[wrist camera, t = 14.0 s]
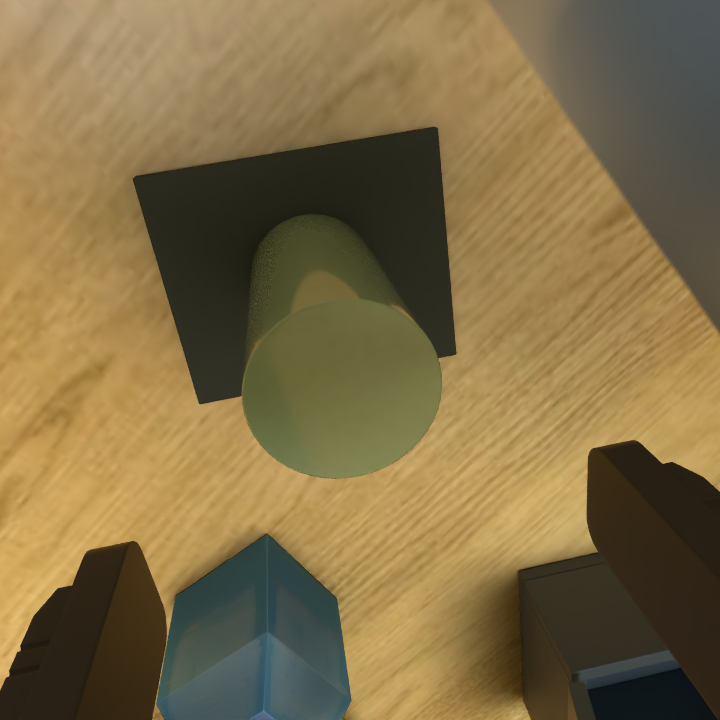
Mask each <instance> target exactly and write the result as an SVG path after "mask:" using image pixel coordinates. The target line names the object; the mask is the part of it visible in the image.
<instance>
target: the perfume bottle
mask: <svg viewBox="0 0 720 720" xmlns="http://www.w3.org/2000/svg"><path fill="white" fill-rule="evenodd" d="M350 702H351V694H350V687H349V680H348V673H347V666H346V658H345V651H344V644H343V637H342V630H341V623H340V616H339V609H338V602H337V599H336V598H335V597H334V596H333V595H332V594H331V593H330V592H329V591H328V590H327V589H326V588H325V587H323V586H322V585H321V584H320V583H319V582H318V581H317V580H316V579H315V578H314V577H313V576H312V575H311V574H310V573H308V572H307V571H306V570H305V569H304V568H303V567H302V566H301V565H300V564H299V563H298V562H297V561H296V560H295V559H293V558H292V557H291V556H290V555H289V554H288V553H287V552H286V551H285V550H284V549H283V548H282V547H281V546H280V545H278V544H277V543H276V542H275V541H274V540H273V539H272V538H271V537H270V536H269V535H268V534H266V535H265V536H263V537H262V538H260V539H259V540H257V541H256V542H254V543H253V544H252V545H250V546H249V547H247V548H246V549H244V550H243V551H241V552H240V553H238V554H237V555H235V556H234V557H232V558H231V559H229V560H228V561H227V562H225V563H224V564H222V565H221V566H219V567H218V568H216V569H215V570H213V571H212V572H210V573H209V574H207V575H206V576H204V577H203V578H202V579H200V580H199V581H197V582H196V583H194V584H193V585H191V586H190V587H188V588H187V589H185V590H184V591H182V592H181V593H179V594H178V595H177V596H175V601H174V607H173V613H172V618H171V624H170V630H169V635H168V641H167V647H166V652H165V658H164V664H163V669H162V675H161V681H160V686H159V692H158V698H157V703H156V704H157V706H158V708H159V709H160V711H161V713H162V715H163V717H164V719H165V720H342V718H343V716H344V714H345V712H346V710H347V708H348V706H349V704H350Z"/></svg>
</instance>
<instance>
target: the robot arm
mask: <svg viewBox="0 0 720 720" xmlns="http://www.w3.org/2000/svg"><path fill="white" fill-rule="evenodd" d="M587 524H588V528H589V532H590V535H591V538H592V541H593V543H594V545H595V547H596V549H597V551H598V552H599V554H600V555H601V556H602V558H603V559H604V561H605V562H606V563H607V565H608V566H609V568H610V569H611V570H612V572H613V573H614V575H615V576H616V577H617V579H618V580H619V582H620V583H621V584H622V586H623V587H624V589H625V590H626V591H627V593H628V594H629V596H630V597H631V598H632V600H633V601H634V603H635V604H636V605H637V607H638V608H639V610H640V611H641V612H642V614H643V615H644V617H645V618H646V619H647V621H648V622H649V624H650V625H651V626H652V628H653V629H654V631H655V632H656V633H657V635H658V636H659V638H660V639H661V640H662V642H663V643H664V645H665V646H666V647H667V649H668V650H669V652H670V653H671V654H672V656H673V657H674V659H675V660H676V661H677V663H678V664H679V666H680V667H681V668H682V670H683V671H684V673H685V674H686V675H687V677H688V678H689V680H690V681H691V682H692V684H693V685H694V687H695V688H696V689H697V691H698V692H699V694H700V695H701V696H702V698H703V699H704V701H705V702H706V703H707V705H708V706H709V708H710V709H711V710H712V712H713V713H714V715H715V716H716V717H717V719H718V720H720V492H719V491H718V490H717V489H716V488H715V487H714V486H713V485H711V484H710V483H709V482H708V481H707V480H706V479H705V478H704V477H702V476H700V475H698V474H696V473H694V472H692V471H690V470H688V469H686V468H684V467H682V466H680V465H677V464H675V463H673V462H670V463H665V464H662V463H661V462H660V461H659V460H658V459H657V458H656V457H654V456H653V455H652V454H651V453H650V452H649V451H648V450H647V449H646V448H645V447H644V446H643V445H642V444H641V443H639V442H638V441H635V440H631V441H626V442H621V443H616V444H611V445H606V446H602V447H597V448H593V449H591V451H590V452H589V456H588V479H587ZM166 639H167V625H166V616H165V611H164V607H163V604H162V601H161V599H160V596H159V593H158V591H157V588H156V586H155V583H154V581H153V578H152V575H151V573H150V570H149V568H148V565H147V563H146V560H145V557H144V555H143V552H142V550H141V548H140V546H139V544H138V543H137V542H135V541H131V542H126V543H121V544H116V545H112V546H107V547H102V548H97V549H92V550H89V551H87V552H86V554H85V555H84V557H83V560H82V562H81V565H80V567H79V570H78V572H77V575H76V577H75V580H74V582H73V585H72V586H67V587H62V588H58V589H57V590H56V591H55V592H54V593H53V594H52V596H51V597H50V598H49V599H48V600H47V601H46V603H45V604H44V605H43V606H42V607H41V608H40V609H39V611H38V612H37V613H36V614H35V615H34V616H33V619H32V621H31V623H30V625H29V628H28V630H27V632H26V634H25V637H24V639H23V641H22V643H21V645H20V647H21V651H20V652H17V654H16V657H15V659H14V661H13V663H12V666H11V668H10V670H9V672H10V675H9V677H7V678H6V679H5V681H4V683H3V686H2V688H1V690H0V720H152V716H153V711H154V706H155V700H156V695H157V690H158V684H159V679H160V673H161V668H162V663H163V657H164V652H165V647H166Z"/></svg>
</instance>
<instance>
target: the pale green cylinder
mask: <svg viewBox="0 0 720 720" xmlns="http://www.w3.org/2000/svg"><path fill="white" fill-rule="evenodd" d="M441 392H442V373H441V367H440V362H439V359H438V356H437V353H436V351H435V349H434V347H433V345H432V343H431V341H430V340H429V338H428V337H427V335H426V334H425V332H424V331H423V329H422V328H421V326H420V324H419V323H418V321H417V320H416V318H415V317H414V315H413V314H412V312H411V311H410V309H409V308H408V306H407V305H406V303H405V302H404V300H403V299H402V297H401V296H400V294H399V293H398V291H397V290H396V288H395V287H394V285H393V284H392V282H391V281H390V279H389V278H388V276H387V275H386V273H385V271H384V270H383V268H382V267H381V265H380V264H379V262H378V261H377V259H376V258H375V256H374V255H373V253H372V252H371V250H370V249H369V247H368V246H367V244H366V243H365V241H364V240H363V238H362V237H361V236H360V235H359V234H358V233H357V232H356V231H355V230H354V229H353V228H352V227H351V226H349V225H348V224H346V223H345V222H343V221H341V220H339V219H336V218H334V217H330V216H327V215H320V214H307V215H300V216H296V217H293V218H290V219H288V220H285V221H284V222H282V223H280V224H278V225H277V226H276V227H274V228H273V229H272V230H271V231H270V232H269V233H268V234H267V235H266V236H265V237H264V238H263V240H262V241H261V242H260V244H259V246H258V248H257V250H256V252H255V255H254V258H253V262H252V267H251V278H250V291H249V304H248V317H247V329H246V342H245V355H244V368H243V381H242V404H243V410H244V414H245V417H246V420H247V423H248V426H249V428H250V430H251V432H252V433H253V435H254V437H255V438H256V440H257V441H258V442H259V444H260V445H261V446H262V447H263V448H264V449H265V450H266V451H267V452H268V453H269V454H270V455H271V456H272V457H274V458H275V459H276V460H277V461H279V462H280V463H282V464H284V465H285V466H287V467H289V468H291V469H293V470H296V471H298V472H300V473H304V474H307V475H310V476H315V477H321V478H333V479H337V478H351V477H357V476H362V475H365V474H369V473H372V472H375V471H378V470H380V469H383V468H384V467H386V466H388V465H390V464H392V463H394V462H395V461H397V460H398V459H400V458H402V457H403V456H404V455H405V454H407V453H408V452H409V451H410V450H411V449H412V448H413V447H414V446H415V445H416V444H417V443H418V442H419V441H420V440H421V439H422V437H423V436H424V435H425V433H426V432H427V431H428V429H429V427H430V425H431V424H432V422H433V420H434V417H435V415H436V413H437V410H438V406H439V403H440V399H441Z"/></svg>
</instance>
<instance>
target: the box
mask: <svg viewBox="0 0 720 720" xmlns="http://www.w3.org/2000/svg"><path fill="white" fill-rule="evenodd" d="M518 574H519V599H520V625H521V650H522V676H523V701H524V704H525V706H526V708H527V710H528V713H529V716H530V718H531V720H568V683H574V682H585V684H586V687H587V691H588V694H589V698H590V701H591V704H592V708H593V711H594V715H595V718H596V720H718V719H717V717H716V716H715V715H714V713H713V712H712V710H711V709H710V708H709V706H708V705H707V703H706V702H705V701H704V699H703V698H702V696H701V695H700V694H699V692H698V691H697V689H696V688H695V687H694V685H693V684H692V682H691V681H690V680H689V678H688V677H687V675H686V674H685V673H684V671H683V670H682V668H681V667H680V666H679V664H678V663H677V661H676V660H675V659H674V657H673V656H672V654H671V653H670V652H669V650H668V649H667V647H666V646H665V645H664V643H663V642H662V640H661V639H660V638H659V636H658V635H657V633H656V632H655V631H654V629H653V628H652V626H651V625H650V624H649V622H648V621H647V619H646V618H645V617H644V615H643V614H642V612H641V611H640V610H639V608H638V607H637V605H636V604H635V603H634V601H633V600H632V598H631V597H630V596H629V594H628V593H627V591H626V590H625V589H624V587H623V586H622V584H621V583H620V582H619V580H618V579H617V577H616V576H615V575H614V573H613V572H612V570H611V569H610V568H609V566H608V565H607V563H606V562H605V561H604V559H603V558H602V556H601V555H600V554H599V553H597V554H593V555H588V556H584V557H579V558H575V559H570V560H566V561H561V562H557V563H552V564H548V565H543V566H539V567H534V568H530V569H525V570H521V571H519V572H518Z"/></svg>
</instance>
